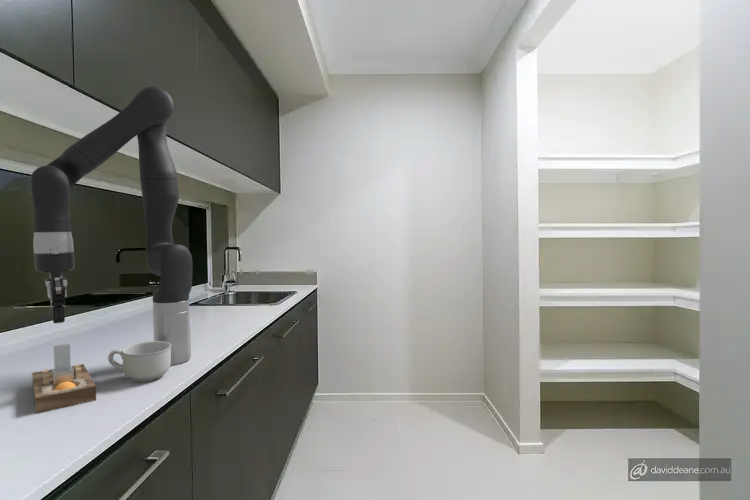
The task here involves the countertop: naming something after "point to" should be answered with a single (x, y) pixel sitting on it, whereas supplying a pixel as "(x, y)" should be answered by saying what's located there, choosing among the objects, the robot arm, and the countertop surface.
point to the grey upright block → (62, 365)
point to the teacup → (144, 360)
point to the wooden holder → (62, 398)
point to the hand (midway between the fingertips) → (58, 322)
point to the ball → (64, 386)
